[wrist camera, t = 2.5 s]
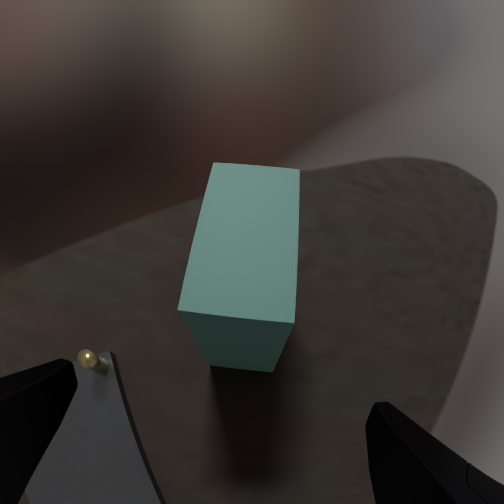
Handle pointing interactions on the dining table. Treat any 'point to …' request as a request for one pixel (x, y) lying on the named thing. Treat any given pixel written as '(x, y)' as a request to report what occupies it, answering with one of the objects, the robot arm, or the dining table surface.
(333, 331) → the dining table surface
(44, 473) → the chassis
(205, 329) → the teal rectangular block
